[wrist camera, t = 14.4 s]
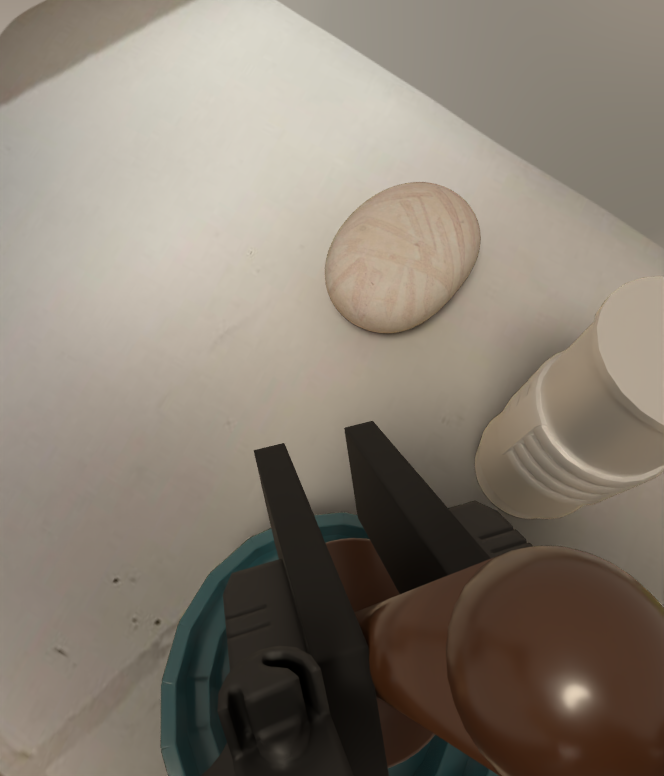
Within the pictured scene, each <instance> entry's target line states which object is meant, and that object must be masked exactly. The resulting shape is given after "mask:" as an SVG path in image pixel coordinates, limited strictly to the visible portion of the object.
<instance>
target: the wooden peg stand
mask: <svg viewBox="0 0 664 776" xmlns="http://www.w3.org/2000/svg"><path fill="white" fill-rule="evenodd" d="M326 545H327V548H328V550H329V553H330V555H331V558H332V560H333V562H334V565H335V567H336V570H337V572H338V574H339V577H340V579H341V582H342V584H343V587H344V589H345V591H346V594H347V596H348V599H349V601H350V604H351V606H352V608H353V611H354V613H355V616H356V618H357V620H358V623H359V625H360V628H361V630H362V633H363V635H364V637H365V640H366V642H367V645H368V648H369V667H370V673H371V678H372V681H373V684H374V686H375V692H376V698H377V704H378V710H379V716H380V723H381V729H382V735H383V741H384V747H385V754H386V760H387V766H388V768H390V767H393V766H395V765H397V764H399V763H402V762H404V761H406V760H407V759H409V758H410V757H412V756H413V755H415V754H416V753H418V752H419V751H420V750H421V749H422V748H423V747H424V746H425V745H426V744H428V743H429V742H430V740H431V739H432V738H433V737H434V736H435V735H437V736H438V737H440V738H441V739H443V740H445V741H446V742H448V743H449V744H451V745H452V746H454V747H455V748H457V749H458V750H460V751H462V752H463V753H465V754H466V755H468V756H469V757H471V758H472V759H474V760H476V761H477V762H479V763H480V764H482V765H483V766H485V767H486V768H488V769H489V770H491V771H493V772H494V773H496V774H497V775H499V776H664V608H663V607H662V605H661V604H660V603H659V602H658V601H657V599H656V598H655V597H654V596H653V595H652V594H651V593H650V592H649V591H648V590H646V589H645V588H644V587H643V586H642V585H641V584H640V583H639V582H638V581H636V580H635V579H634V578H633V577H632V576H631V575H630V574H628V573H626V572H625V571H623V570H622V569H620V568H619V567H617V566H616V565H614V564H613V563H611V562H609V561H606V560H604V559H602V558H599V557H597V556H595V555H592V554H590V553H587V552H583V551H580V550H576V549H571V548H567V547H562V546H533V547H525V548H520V549H516V550H512V551H509V552H507V553H504V554H501V555H499V556H496V557H494V558H491V559H489V560H486V561H484V562H481V563H479V564H476V565H473V566H471V567H468V568H466V569H463V570H461V571H458V572H456V573H453V574H451V575H448V576H445V577H443V578H440V579H438V580H435V581H433V582H430V583H428V584H425V585H423V586H420V587H417V588H415V589H412V590H410V591H407V592H405V593H402V594H399V592H398V590H397V588H396V586H395V585H394V583H393V581H392V579H391V577H390V575H389V574H388V572H387V570H386V568H385V566H384V564H383V563H382V561H381V559H380V557H379V555H378V554H377V552H376V550H375V548H374V546H373V544H372V543H371V541H370V539H362V538H348V539H339V540H334V541H330V542H327V543H326Z"/></svg>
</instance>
